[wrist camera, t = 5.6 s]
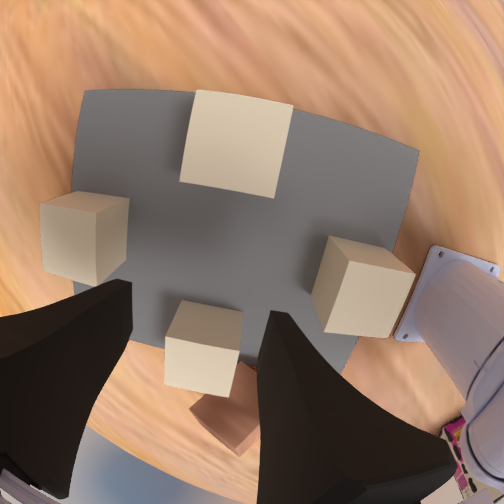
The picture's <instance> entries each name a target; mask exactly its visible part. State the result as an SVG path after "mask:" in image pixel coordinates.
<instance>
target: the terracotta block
mask: <svg viewBox="0 0 504 504" xmlns="http://www.w3.org/2000/svg"><path fill="white" fill-rule="evenodd" d="M189 410H190V411H191V412H192V414H193V415H194V416H195V418H196V419H197V420H198V422H199V423H200V424H201V425H202V426H203V427H204V428H205V429H206V430H207V431H209V432H210V433H211V434H212V435H213V436H214V437H215V438H217V439H218V440H219V441H220V442H221V443H223V444H224V445H225V446H226V447H228V448H229V449H230V450H231V451H233V452H234V453H235V454H236V455H238V456H239V457H240V456H241V455H242V454H243V453H244V452H245V451H246V450H247V449H248V448H249V447H250V446H251V445H252V444H253V443H254V442H255V441H256V440H257V439H258V438H259V437H260V421H259V408H258V394H257V372H255V371H254V370H253V369H251V368H250V367H248V366H247V365H246V364H244V363H243V362H242V361H240V362H239V363H238V364H237V365H236V369H235V373H234V377H233V382H232V386H231V390H230V394H229V398H228V397H222V396H216V395H211V394H205V395H204V396H203V397H202V398H201V399H199V400H198V401H197V402H196V403H195V404H194V405H193V406H191V407H190V408H189Z"/></svg>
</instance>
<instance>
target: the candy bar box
mask: <svg viewBox="0 0 504 504" xmlns="http://www.w3.org/2000/svg"><path fill="white" fill-rule="evenodd" d="M465 423H466V421H465V419H464V417H463V416H461V417H459V418H458V419H456V420H454V421H452V422H451V423H449V424H447V425H445V426H444V427H443V428H442V431H441V433H440V436H439V437H440V438H442V439H445V440H446V441H447V443H448V445H449V447H450V449H451V451H452V453H453V455H454V458H455V460H456V462H457V464H458V468H457V470H456V472H455V474H454V477H455V479H456V482H457V484H458V487H459V489H460V491H461V494H462V496H463V499H464V500H465V499H467V498H469V497H470V496H472V495H474V494H476V493H478V492H479V491H481V490H483V489H484V488H488V490H489V493H490V495H491V498H492V500H493V503H494V504H496V503H497V502H499V501H500V500H501V499H503V498H504V494H503V493H502V492H500V491H499V490H498V489H496V488H494V487H491V486H488V485H486V484H484V483H482V482H480V481H478V480H477V479H475V478H474V477H473V476H472V475H471V473H470V472H469V471H468V469H467V467H466V466H465V463H464V461H463V458H462V454H461V448H460V434H461V430H462V428H463V426H464V424H465Z"/></svg>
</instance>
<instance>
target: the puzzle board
mask: <svg viewBox="0 0 504 504" xmlns="http://www.w3.org/2000/svg"><path fill="white" fill-rule="evenodd" d="M293 106H294V105H290V104H285V103H281V102H276V101H271V100H266V99H261V98H256V97H250V96H244V95H238V94H231V93H224V92H217V91H208V90H199V89H197V90H196V93H193V92H182V91H168V90H144V89H112V90H88V91H84V95H83V100H82V105H81V110H80V116H79V122H78V128H77V135H76V142H75V150H74V159H73V170H72V184H71V193H69V194H66V195H63V196H60V197H57V198H54V199H51V200H48V201H45V202H42V203H39V212H40V238H41V252H42V262H43V271H44V272H47V273H50V274H54V275H57V276H60V277H63V278H66V279H70V280H73V284H74V293H75V295H76V294H79V293H81V292H83V291H86V290H88V289H91V288H93V287H95V286H98V285H100V284H103V283H105V282H108V281H111V280H114V279H121V280H125V281H129V282H132V310H133V331H132V333H131V336H130V338H129V340H132V341H136V342H140V343H143V344H147V345H151V346H155V347H159V348H163V349H165V385H168V386H172V387H177V388H181V389H186V390H190V391H195V392H200V393H205V394H211V395H216V396H222V397H228V398H229V394H230V390H231V386H232V382H233V377H234V373H235V369H236V365H237V364H238V363H239V362H240V361H242V362H243V363H244V364H246V365H250V366H257V363H258V354H259V350H260V347H261V343H262V339H263V336H264V332H265V329H266V325H267V321H268V318H269V314H270V310H274V311H280V312H287V313H289V314H290V316H291V317H292V318H293V320H294V321H295V322H296V324H297V325H298V326H299V328H300V329H301V330H302V332H303V333H304V334H305V336H306V337H307V338H308V339H309V341H310V342H311V343H312V344H313V346H314V347H315V348H316V349H317V351H318V352H319V353H320V354H321V355H322V356H323V357H324V359H325V360H326V361H327V362H328V363H329V364H330V365H331V366H332V367H333V368H334V369H335V370H336V371H337V372H338V373H339V374H341V372H342V370H343V368H344V366H345V364H346V362H347V360H348V358H349V356H350V354H351V352H352V350H353V348H354V346H355V344H356V342H357V340H358V338H359V336H366V337H378V338H388V336H389V334H390V332H391V330H392V328H393V326H394V324H395V322H396V320H397V318H398V316H399V313H400V311H401V309H402V307H403V305H404V302H405V300H406V298H407V295H408V293H409V290H410V288H411V286H412V283H413V281H414V278H415V275H416V274H415V273H414V272H413V271H412V270H410V269H409V268H408V267H407V266H406V265H405V264H404V263H402V262H401V261H400V260H399V259H398V258H397V257H395V256H394V255H393V254H392V253H393V250H394V247H395V244H396V240H397V237H398V234H399V231H400V228H401V224H402V221H403V217H404V214H405V210H406V207H407V203H408V199H409V195H410V192H411V188H412V183H413V179H414V175H415V170H416V166H417V161H418V156H419V151H418V150H416V149H414V148H411V147H409V146H407V145H404V144H402V143H399V142H397V141H394V140H392V139H389V138H387V137H384V136H381V135H379V134H376V133H373V132H370V131H367V130H364V129H362V128H359V127H356V126H352V125H349V124H346V123H343V122H340V121H336V120H333V119H330V118H326V117H323V116H319V115H315V114H311V113H308V112H304V111H300V110H295V109H293Z"/></svg>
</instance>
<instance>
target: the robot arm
mask: <svg viewBox="0 0 504 504" xmlns="http://www.w3.org/2000/svg"><path fill="white" fill-rule="evenodd" d="M440 252H441V254H440V255H439V253H440ZM438 255H439V256H438ZM499 272H500V266H499V265H497V264H494V263H491V262H488V261H485V260H482V259H479V258H476V257H473V256H470V255H467V254H464V253H461V252H457V251H454V250H451V249H448V248H444V247H441V246H438V245H433V246H432V247H431V248H430V250H429V253H428V255H427V258H426V261H425V264H424V266H423V269H422V272H421V274H420V277H419V279H418V282H417V284H416V287H415V289H414V292H413V294H412V296H411V299H410V301H409V303H408V306H407V308H406V310H405V312H404V314H403V317H402V319H401V321H400V323H399V325H398V327H397V329H396V331H395V333H394V338H395V339H396V340H397V341H408V342H425V343H426V344H427V345H428V347H429V348H430V350H431V351H432V352H433V354H434V355H435V356H436V358H437V359H438V361H439V362H440V363H441V365H442V366H443V368H444V369H445V371H446V372H447V373H448V375H449V376H450V378H451V379H452V381H453V382H454V384H455V385H456V387H457V388H458V390H459V391H460V393H461V394H462V396H463V397H464V399H465V401H466V404H465V406H464V407H463V408H462V410H461V411H460V412H461V414H462V415H463V417H464V419H465V421H466V423H465V424H464V426H463V428H462V430H461V434H460V448H461V454H462V458H463V461H464V463H465V466H466V467H467V469H468V471H469V472H470V473H471V475H472V476H473V477H474V478H475V479H477V480H478V481H480V482H482V483H484V484H486V485H488V486H491V487H494V488H496V489H498V490H499V491H500V492H502V493H503V494H504V282H503V281H501V280H500V279H498V275H499ZM132 331H133V310H132V282H129V281H125V280H121V279H114V280H111V281H108V282H105V283H103V284H100V285H98V286H95V287H93V288H91V289H88V290H86V291H83V292H81V293H79V294H76V295H74V296H71V297H69V298H66V299H63V300H61V301H58V302H56V303H53V304H50V305H47V306H44V307H41V308H38V309H35V310H31V311H27V312H24V313H20V314H15V315H9V316H4V317H0V488H2V489H3V490H4V491H6V492H7V493H8V494H10V495H11V496H12V497H14V498H15V499H17V500H18V501H19V502H21V503H23V504H60V503H58V502H56V501H54V500H53V499H51V498H49V497H47V496H46V495H44V494H42V493H40V492H38V491H37V490H35V489H34V488H32V487H31V486H30V484H31V485H32V486H34V487H36V488H37V489H39V490H43V491H45V492H47V493H48V494H50V495H52V496H54V497H55V498H57V499H65V498H67V497H68V496H69V489H70V483H71V477H72V472H73V467H74V463H75V459H76V455H77V451H78V448H79V444H80V441H81V438H82V434H83V432H84V429H85V426H86V423H87V420H88V418H89V415H90V413H91V410H92V407H93V405H94V403H95V401H96V399H97V397H98V395H99V393H100V391H101V390H102V388H103V386H104V384H105V383H106V381H107V379H108V377H109V376H110V374H111V372H112V371H113V369H114V367H115V366H116V364H117V362H118V360H119V359H120V357H121V355H122V354H123V352H124V350H125V348H126V345H127V343H128V341H129V338H130V336H131V333H132ZM405 334H406V335H405ZM404 335H405V336H404ZM257 394H258V408H259V421H260V439H261V445H260V466H259V481H258V494H257V504H421V502H420V501H421V500H422V499H424V498H425V497H427V496H428V495H430V494H431V493H432V492H434V491H435V490H437V489H438V488H439V487H441V486H442V485H443V484H445V483H446V482H447V481H448V480H449V479H450V478H451V477H452V476H453V475H454V474H455V472H456V470H457V468H458V464H457V462H456V460H455V458H454V455H453V453H452V451H451V449H450V447H449V445H448V443H447V441H446V440H445V439H442V438H440V437H437V436H435V435H432V434H430V433H427V432H425V431H423V430H420V429H418V428H416V427H414V426H412V425H410V424H408V423H406V422H404V421H403V420H401V419H399V418H397V417H395V416H394V415H392V414H390V413H389V412H387V411H386V410H384V409H382V408H381V407H380V406H378V405H377V404H375V403H374V402H372V401H371V400H370V399H368V398H367V397H366V396H364V395H363V394H362V393H360V392H359V391H358V390H357V389H355V388H354V387H353V386H352V385H351V384H350V383H349V382H348V381H346V380H345V379H344V378H343V377H342V376H341V375H340V374H339V373H338V372H337V371H336V370H335V369H334V368H333V367H332V366H331V365H330V364H329V363H328V362H327V361H326V360H325V359H324V357H323V356H322V355H321V354H320V353H319V352H318V351H317V349H316V348H315V347H314V346H313V344H312V343H311V342H310V341H309V339H308V338H307V337H306V336H305V334H304V333H303V332H302V330H301V329H300V328H299V326H298V325H297V324H296V322H295V321H294V320H293V318H292V317H291V316H290V314H289V313H287V312H280V311H274V310H270V314H269V318H268V321H267V325H266V329H265V332H264V336H263V339H262V343H261V347H260V350H259V354H258V363H257ZM0 504H11V503H10V502H8V501H7V500H5V499H4V498H3V497H2V495H1V491H0ZM458 504H494V503H493V500H492V498H491V495H490V493H489V490H488V488H484V489H483V490H481V491H479V492H478V493H476V494H474V495H472V496H470V497H469V498H467V499H465V500H464V501H462V502H460V503H458Z"/></svg>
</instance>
